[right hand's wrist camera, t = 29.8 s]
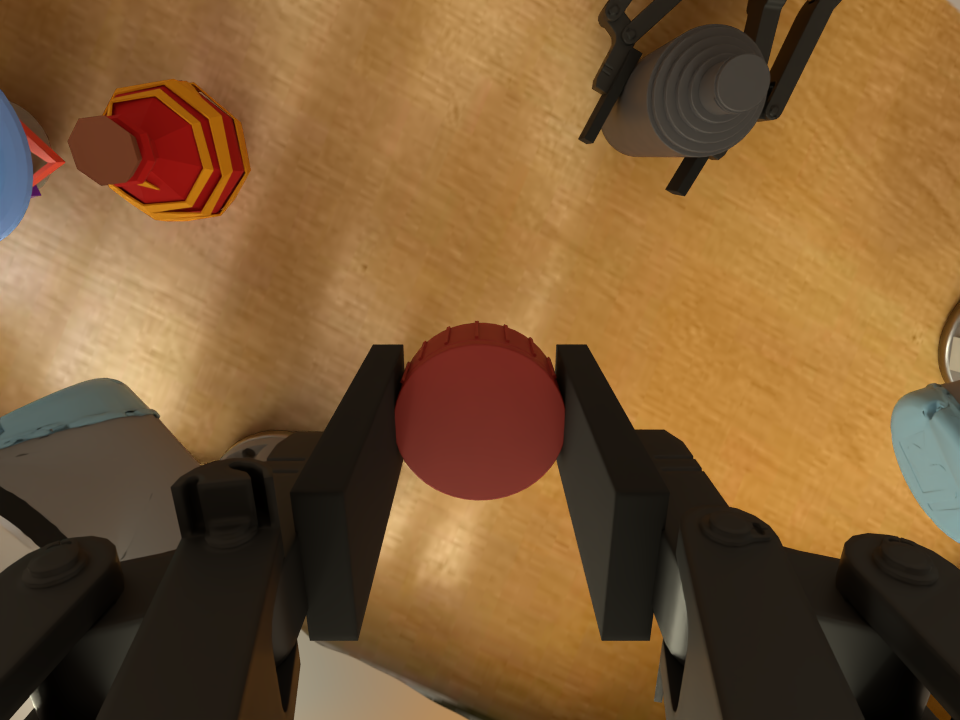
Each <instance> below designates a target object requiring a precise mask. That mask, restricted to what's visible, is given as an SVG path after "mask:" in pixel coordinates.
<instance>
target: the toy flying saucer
mask: <svg viewBox="0 0 960 720" xmlns="http://www.w3.org/2000/svg"><path fill="white" fill-rule="evenodd" d="M64 163H65V161H64V160H63V159H62V158H60V157H59V156H58V155H57V154H56V153H55V152H54V151H53V150H52V149H51V146H50V143H49V140H48V137H47V135H46V134H45V132H44V130H43V128H42V127H41V126H40V124H39V123H38V122H37V120H36V119H35V118H34V117H33V116H32V115H31V114H30V113H29V112H27V111H26V110H25V109H23V108H22V107H20V106H19V105H17V104H15V103H13V102H11V101H8V99H7V98H6V96H5V95H4V93H3V92H2V91H1V89H0V241H1V240H2V239H4V238H5V237H7V236H8V235H9V234H10V233H11V232H12V231H13V230H14V229H15V228H16V227H17V226H18V224H19V223H20V221H21V220H22V218H23V217H24V214H25V212H26V210H27V208H28V205H29V202H30V198H33V197H37V196H41V194H40V192H39V189H40V188H41V187H42V186H43V185H44V184H45V183H46V181H47V180H48V178H49V176H50V174H51V173H52V172H53V171H55V170H56V169H57V168H59V167H60V166H61V165H63V164H64Z"/></svg>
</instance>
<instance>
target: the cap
mask: <svg viewBox="0 0 960 720" xmlns="http://www.w3.org/2000/svg"><path fill="white" fill-rule="evenodd" d="M400 383H402V385H401V388H400V391H399V394H398V397H397V400H396V404H395V427H396V443H397V446H398V449H399V452H400V453H401V455H402V457H403V459H404V461H405V462H406V464H407V465H408V466H409V468H410V469H411V470H412V471H413V472H414V473H415V474H416V475H417V476H418V477H419V478H420V479H421V480H422V481H424V482H425V483H426V484H428V485H429V486H431V487H432V488H434V489H436V490H438V491H440V492H442V493H444V494H447V495H450V496H453V497H457V498H462V499H468V500H492V499H499V498H503V497H507V496H510V495H513V494H515V493H518V492H520V491H522V490H524V489H526V488H528V487H529V486H531V485H532V484H534V483H535V482H536V481H538V480H539V479H540V478H541V477H542V476H543V475H544V474H545V473H546V472H547V471H548V470H549V469H550V468H551V466H552V465H553V463H554V462H555V460H556V459H557V457H558V455H559V453H560V451H561V449H562V446H563V439H564V421H565V405H564V401H563V397H562V395H561V391H560V389H559V386H558V383H557V380H556V374H555V371H554V368H553V365H552V362H551V359H550V358H549V357H548V358H547V357H546V356H545V354H544V353H543V352H542V351H541V349H540V348H539V347H538V346H537V345H536V344H535V343H534V342H533V339H532V338H531V337H529V339H528V338H527V337H526V336H524V335H523V334H521V333H519V332H517V331H515V330H513V329H510V328H508V326H507V325H505V324H504V326H501V325H497V324H490V323H479V321H475V323H470V324H463V325H459V326H456V327H452V328H451V327H450V326H449V327H447V330H445V331H443V332H441V333H439V334H438V335H436V336H434V337H433V338H431V339H430V340H429V341H428V342H426V341H424V342H423V344H422V347H421V348H420V349H419V350H418V352H417V353H416V355H415V356H414V357H413V359H412V361H411V362H408V363H407V365H406V368H405V371H404V374H403V376H402V379H401V382H400Z"/></svg>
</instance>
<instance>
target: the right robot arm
mask: <svg viewBox="0 0 960 720" xmlns="http://www.w3.org/2000/svg"><path fill="white" fill-rule="evenodd" d="M403 374H404V351H403V345H372V347H371V349H370V351H369V353H368V354H367V356H366V358H365V360H364V361H363V363H362V365H361V367H360V368H359V370H358V372H357V374H356V376H355V377H354V379H353V381H352V383H351V384H350V386H349V388H348V390H347V392H346V393H345V395H344V397H343V399H342V400H341V402H340V404H339V406H338V407H337V409H336V411H335V413H334V415H333V416H332V418H331V420H330V422H329V423H328V425H327V427H326V429H325V431H296V432H290V431H266V432H260V433H256V434H253V435H250V436H248V437H246V438H244V439H242V440H240V441H239V442H237V443H236V444H234V445H233V446H232V447H231V448H230V449H229V450H228V451H227V452H226V453H225V454H224V455H223V456H222V458H221V459H220V460H219V461H213V462H211V463H208V464H205V465H202V466H201V465H200V464H199V463H198V462H197V461H196V460H195V459H194V457H193V456H192V455H191V454H190V453H189V452H188V451H187V450H186V449H185V447H184V446H183V445H182V444H181V443H180V442H179V441H178V440H177V439H176V437H175V436H174V435H173V434H172V433H171V432H170V431H169V430H168V428H167V427H166V426H165V425H164V424H163V423H162V422H161V421H160V420H159V418H160V415H159V414H158V413H157V412H156V411H155V410H153V409H150V408H149V407H148V406H147V405H146V404H145V403H144V402H143V401H142V400H141V399H140V398H139V397H138V396H137V395H136V394H135V393H134V392H133V391H132V390H131V389H130V388H129V387H128V386H127V385H125V384H124V383H122V382H120V381H118V380H115V379H109V378H98V379H92V380H88V381H84V382H81V383H78V384H75V385H73V386H70V387H67V388H65V389H62V390H60V391H57V392H55V393H52V394H50V395H48V396H45V397H43V398H41V399H38V400H36V401H34V402H32V403H30V404H27V405H25V406H23V407H21V408H19V409H17V410H15V411H13V412H11V413H8V414H6V415H4V416H2V417H1V418H0V720H9V719H10V718H11V717H12V716H13V715H14V714H15V713H16V711H17V710H18V709H19V708H20V707H21V706H22V705H23V704H24V702H25V701H26V700H27V699H28V698H29V697H31V700H32V703H33V705H34V709H33V710H32V711H31V712H30V713H29V715H28V716H27V717H26V718H25V719H24V720H294V713H295V705H296V697H297V688H298V680H299V672H300V657H299V650H298V643H297V638H298V635H299V632H300V630H301V627H302V624H303V622H304V619H305V616H307V623H308V631H309V638H310V641H358V638H359V634H360V630H361V626H362V622H363V618H364V614H365V610H366V606H367V602H368V598H369V594H370V590H371V586H372V582H373V578H374V574H375V570H376V566H377V562H378V558H379V554H380V551H381V547H382V543H383V539H384V535H385V531H386V527H387V523H388V519H389V515H390V511H391V507H392V503H393V499H394V495H395V491H396V487H397V483H398V479H399V475H400V471H401V467H402V463H403V457H402V455H401V453H400V452H399V449H398V446H397V443H396V427H395V404H396V400H397V397H398V394H399V391H400V388H401V385H402V383H400V382H401V379H402V376H403ZM555 374H556V380H557V383H558V386H559V389H560V391H561V395H562V397H563V401H564V405H565V421H564V439H563V446H562V449H561V451H560V453H559V455H558V457H557V459H556V460H557V464H558V468H559V472H560V476H561V480H562V484H563V488H564V492H565V496H566V500H567V504H568V508H569V512H570V516H571V520H572V524H573V528H574V532H575V536H576V540H577V544H578V548H579V552H580V556H581V560H582V564H583V568H584V572H585V576H586V580H587V584H588V588H589V592H590V596H591V600H592V604H593V608H594V612H595V616H596V620H597V624H598V628H599V632H600V636H601V640H602V641H650V635H651V628H652V621H653V613H654V615H655V617H656V620H657V623H658V625H659V628H660V630H661V633H662V636H663V643H662V649H661V656H660V663H659V670H658V677H657V684H656V691H655V698H654V701H656V702H661V703H662V698H663V695H664V704H665V712H666V720H939V719H938V718H937V717H936V716H935V715H934V714H933V713H932V712H931V710H930V709H929V708H928V707H927V706H926V704H927V701H928V699H929V696H930V693H931V694H932V695H933V696H934V698H935V699H936V700H937V701H938V702H939V703H940V704H941V705H942V707H943V708H944V709H945V710H946V711H947V712H948V713H949V714H950V716H951V720H960V570H959V569H958V568H957V567H956V566H954V565H953V564H952V563H950V562H949V561H947V560H946V559H944V558H943V557H941V556H940V555H938V554H937V553H935V552H934V551H932V550H930V549H927V548H925V547H923V546H921V545H918V544H916V543H915V542H913V541H910V540H907V539H904V538H898V537H897V536H891V535H884V534H872V533H866V534H860V535H855V536H852V537H851V538H850V539H849V540H848V541H847V542H845V544H844V548H843V551H842V555H841V559H838V558H833V557H828V556H823V555H818V554H813V553H808V552H803V551H798V550H795V549H791V548H787V547H783V546H782V543H781V541H780V539H779V537H778V536H777V535H776V533H775V532H774V531H773V530H772V528H771V527H770V526H769V525H768V524H766V523H765V522H763V521H762V520H760V519H759V518H757V517H756V516H754V515H752V514H749V513H747V512H745V511H742V510H740V509H737V508H732V507H729V506H728V505H727V503H726V502H725V500H724V499H723V498H722V496H721V495H720V493H719V492H718V491H717V489H716V488H715V486H714V485H713V483H712V482H711V481H710V479H709V478H708V476H707V475H706V474H705V472H704V471H702V468H701V467H700V465H699V464H698V462H697V461H696V460H695V459H693V455H692V454H691V452H690V451H689V450H688V448H687V447H686V445H685V444H684V443H683V442H682V441H681V440H679V439H678V438H676V437H675V436H673V435H672V434H670V433H669V432H667V431H665V430H635V429H634V428H633V426H632V424H631V422H630V421H629V419H628V417H627V415H626V413H625V412H624V410H623V408H622V406H621V405H620V403H619V401H618V399H617V398H616V396H615V394H614V392H613V390H612V389H611V387H610V385H609V383H608V382H607V380H606V378H605V376H604V374H603V373H602V371H601V369H600V367H599V366H598V364H597V362H596V360H595V359H594V357H593V355H592V353H591V351H590V350H589V348H588V346H587V345H556V364H555Z"/></svg>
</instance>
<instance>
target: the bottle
mask: <svg viewBox="0 0 960 720" xmlns="http://www.w3.org/2000/svg"><path fill="white" fill-rule="evenodd" d="M769 85H770V71H769V68H768V66H767V64H766V62H765V60H764V57H763V55H762V53H761V51H760V49H759V48H758V46H757V45H756V43H755V42H754V41H753V40H752V39H751V38H750V37H749V36H748V35H747V34H745V33H744V32H742V31H740V30H739V29H736V28H734V27H731V26H727V25H722V24H710V25H703V26H699V27H696V28H694V29H691V30H689V31H687V32H685V33H683V34H682V35H680V36H678V37H677V38H675V39H673V40H672V41H670V42H668V43H667V44H665V45H663V46H662V47H660V48H658V49H657V50H655V51H653V52H652V53H650V54H648V55H647V56H645V57H644V58H642V59H640V60H639V61H638V63H637V64H636V66H635V68H634V70H633V72H632V73H631V75H630V77H629V79H628V81H627V83H626V84H625V86H624V88H623V90H622V92H621V93H620V95H619V97H618V99H617V101H616V103H615V104H614V106H613V108H612V110H611V112H610V113H609V115H608V117H607V119H606V121H605V123H604V124H603V126H602V128H601V129H602V132H603V134H604V136H605V138H606V140H607V141H608V142H609V144H610V145H611V146H612V147H613V148H615V149H616V150H617V151H619V152H621V153H623V154H625V155H628V156H633V157H707V156H712V155H716V154H719V153H722V152H724V151H726V150H728V149H730V148H731V147H733V146H734V145H736V144H737V143H738V142H739V141H741V140H742V139H743V138H744V137H745V136H746V135H747V134H748V133H749V132H750V130H751V129H752V128H753V126H754V125H755V123H756V122H757V120H758V118H759V116H760V114H761V112H762V110H763V107H764V104H765V101H766V96H767V91H768V88H769Z"/></svg>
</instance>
